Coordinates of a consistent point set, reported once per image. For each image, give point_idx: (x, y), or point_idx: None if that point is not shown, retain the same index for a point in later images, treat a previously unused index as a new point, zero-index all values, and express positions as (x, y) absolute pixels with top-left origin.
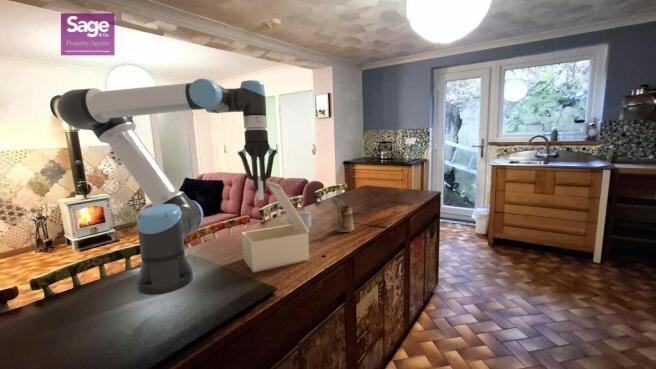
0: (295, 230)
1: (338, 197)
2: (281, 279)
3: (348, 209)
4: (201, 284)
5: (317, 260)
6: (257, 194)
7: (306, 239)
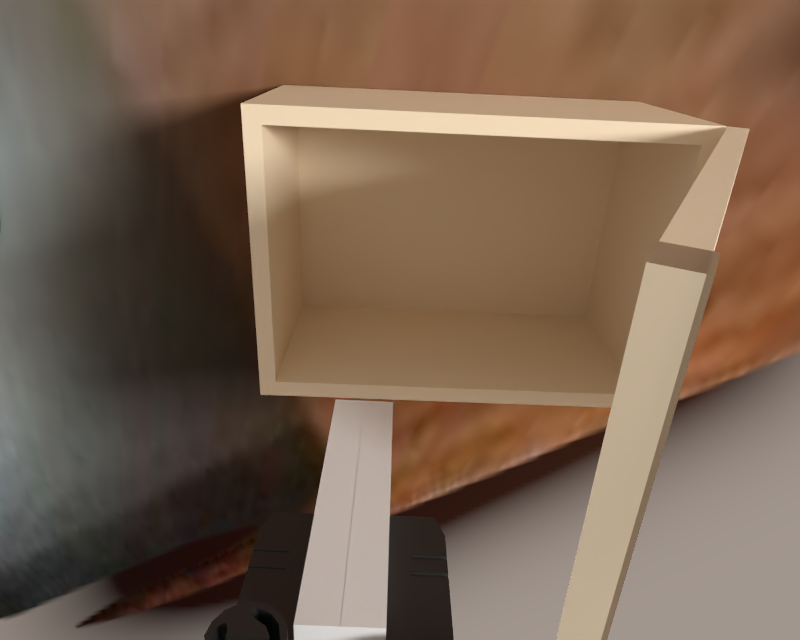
0: (669, 208)
1: None
2: None
3: None
4: (53, 303)
5: None
6: (328, 448)
7: None
